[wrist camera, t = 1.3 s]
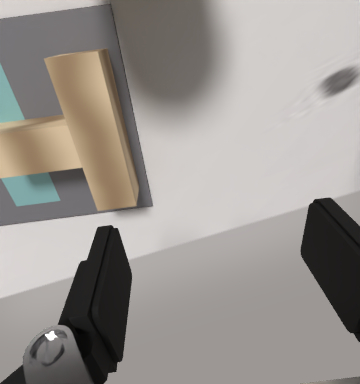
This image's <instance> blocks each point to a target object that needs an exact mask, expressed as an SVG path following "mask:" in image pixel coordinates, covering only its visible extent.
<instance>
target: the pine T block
mask: <svg viewBox="0 0 360 384" xmlns="http://www.w3.org/2000/svg"><path fill="white" fill-rule="evenodd" d="M44 61H45V64H46V66H47V69H48V72H49V75H50V78H51V80H52V83H53V86H54V89H55V92H56V95H57V97H58V100H59V103H60V106H61V109H62V111H63V114H64V115H56V116H49V117H41V118H34V119H26V120H18V121H11V122H3V123H0V178H7V177H15V176H22V175H30V174H38V173H45V172H53V171H61V170H68V169H76V168H83V171H84V174H85V176H86V179H87V182H88V185H89V188H90V191H91V193H92V196H93V199H94V202H95V205H96V207H97V210H98V211H102V210H110V209H118V208H125V207H133V206H137V199H138V192H139V183H138V178H137V174H136V170H135V165H134V161H133V157H132V152H131V148H130V144H129V140H128V135H127V131H126V127H125V122H124V118H123V114H122V109H121V105H120V101H119V96H118V92H117V88H116V84H115V79H114V75H113V71H112V66H111V62H110V58H109V53H108V49H107V48H105V49H97V50H90V51H83V52H75V53H68V54H61V55H57V56H53V57H48V58H44Z"/></svg>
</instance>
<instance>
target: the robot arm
mask: <svg viewBox="0 0 360 384" xmlns="http://www.w3.org/2000/svg"><path fill="white" fill-rule="evenodd" d="M301 255H302V258H303V260H304V261H305V263H306V264H307V266H308V268H309V269H310V271H311V273H312V274H313V276H314V277H315V279H316V281H317V282H318V284H319V285H320V287H321V288H322V290H323V292H324V293H325V295H326V297H327V298H328V300H329V302H330V303H331V305H332V306H333V308H334V310H335V311H336V313H337V314H338V316H339V318H340V319H341V321H342V322H343V324H344V326H345V327H346V329H347V330H348V331H349V332H350V333H354V335H355V336H356V338H357V340H358V341H359V342H360V226H359V225H358V224H357V223H356V222H355V221H354V220H353V219H352V218H351V217H350V216H349V215H348V214H347V213H346V212H345V211H344V210H342V208H341V207H340V206H339V205H338V204H337V203H336V202H335V201H334V200H333V199H331V198H322V199H315V200H314V201H313V203H311V204H310V205H309V208H308V214H307V219H306V224H305V229H304V235H303V240H302V245H301ZM131 283H132V273H131V269H130V266H129V262H128V259H127V256H126V253H125V250H124V246H123V243H122V240H121V237H120V234H119V230H118V228H113V226H112V225H109V226H101V227H98V228H97V230H96V234H95V237H94V240H93V243H92V246H91V249H90V252H89V255H88V258H87V260H85V261H81V262H80V264H79V266H78V269H77V271H76V274H75V277H74V280H73V283H72V286H71V289H70V292H69V294H68V297H67V300H66V303H65V306H64V308H63V311H62V314H61V317H60V320H59V323H58V325H55V326H51V327H49V328H47V329H44V330H43V331H41V332H40V333H39V334H38V335H36V336H35V337H34V338H33V340H32V341H31V342H30V343H29V345H28V346H27V348H26V350H25V353H24V356H23V365H22V366H21V367H19V368H18V369H17V370H16V371H14V372H13V373H12V374H11V375H10V376H8V377H7V378H6V379H5V380H4V381H3V382H1V383H0V384H104V383H105V381H106V380H107V377H108V373H112V372H116V370H117V362H121V361H122V358H123V351H124V342H125V334H126V325H127V317H128V307H129V299H130V291H131ZM302 384H360V377H353V378H343V379H336V380H326V381H318V382H310V383H302Z"/></svg>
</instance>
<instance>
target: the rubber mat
mask: <svg viewBox="0 0 360 384" xmlns="http://www.w3.org/2000/svg"><path fill="white" fill-rule="evenodd" d="M105 48H107V49H108V53H109V58H110V62H111V66H112V71H113V75H114V79H115V84H116V88H117V92H118V96H119V101H120V105H121V109H122V114H123V118H124V122H125V127H126V131H127V135H128V140H129V144H130V148H131V152H132V157H133V161H134V165H135V170H136V174H137V178H138V183H139V192H138V199H137V206H133V207H125V208H118V209H110V210H102V211H98V210H97V207H96V205H95V202H94V199H93V196H92V193H91V191H90V188H89V185H88V182H87V179H86V176H85V174H84V171H83V168H76V169H68V170H61V171H53V172H48V173H49V175H50V178H51V180H52V182H53V184H54V187H55V189H56V191H57V194H58V196H59V198H60V200H61V201H55V202H48V203H40V204H32V205H24V206H16V204H15V203H14V201H13V199H12V197H11V195H10V194H9V192H8V190H7V188H6V186H5V185H4V183H3V181H2V179H1V178H0V226H1V225H8V224H16V223H24V222H32V221H40V220H47V219H55V218H63V217H71V216H79V215H86V214H94V213H102V212H110V211H117V210H125V209H133V208H141V207H149V206H152V200H151V196H150V191H149V186H148V181H147V177H146V172H145V167H144V162H143V157H142V153H141V148H140V143H139V138H138V134H137V129H136V124H135V119H134V114H133V110H132V105H131V100H130V95H129V91H128V86H127V81H126V76H125V72H124V67H123V62H122V57H121V52H120V48H119V43H118V38H117V33H116V29H115V24H114V19H113V14H112V9H111V5H110V4H106V5H99V6H91V7H84V8H77V9H69V10H62V11H55V12H47V13H40V14H33V15H25V16H18V17H11V18H3V19H0V64H1V66H2V68H3V70H4V73H5V75H6V77H7V80H8V82H9V84H10V86H11V89H12V91H13V93H14V95H15V98H16V100H17V102H18V105H19V107H20V109H21V111H22V114H23V116H24V118H25V120H26V119H34V118H41V117H49V116H56V115H64V114H63V111H62V109H61V106H60V103H59V100H58V97H57V95H56V92H55V89H54V86H53V83H52V80H51V78H50V75H49V72H48V69H47V66H46V64H45V61H44V58H48V57H53V56H57V55H61V54H68V53H75V52H83V51H90V50H97V49H105Z"/></svg>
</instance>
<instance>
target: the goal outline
mask: <svg viewBox="0 0 360 384" xmlns="http://www.w3.org/2000/svg"><path fill="white" fill-rule="evenodd" d="M18 120H25V118H24V116H23V114H22V111H21V109H20V107H19V105H18V102H17V100H16V98H15V95H14V93H13V91H12V89H11V86H10V84H9V82H8V80H7V77H6V75H5V73H4V70H3V68H2V66H1V64H0V123H3V122H11V121H18ZM1 179H2V181H3V183H4V185H5V186H6V188H7V190H8V192H9V194H10V195H11V197H12V199H13V201H14V203H15V204H16V206H24V205H32V204H40V203H48V202H55V201H61V200H60V198H59V196H58V194H57V191H56V189H55V187H54V184H53V182H52V180H51V178H50V175H49V173H48V172H45V173H38V174H30V175H22V176H15V177H7V178H1Z"/></svg>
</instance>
